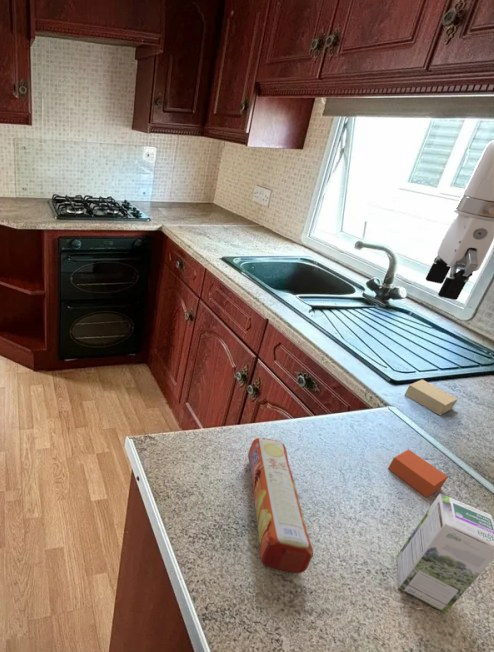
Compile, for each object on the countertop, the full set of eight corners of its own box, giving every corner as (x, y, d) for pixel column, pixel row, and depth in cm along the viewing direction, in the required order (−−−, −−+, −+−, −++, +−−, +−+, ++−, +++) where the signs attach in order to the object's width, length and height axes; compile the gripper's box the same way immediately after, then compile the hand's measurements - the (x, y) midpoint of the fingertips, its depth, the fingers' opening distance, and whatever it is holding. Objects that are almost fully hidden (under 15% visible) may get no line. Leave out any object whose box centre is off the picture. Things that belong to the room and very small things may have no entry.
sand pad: (452, 408, 96) (458, 398, 94) (439, 415, 93) (445, 405, 92) (417, 388, 102) (422, 379, 101) (404, 394, 99) (409, 384, 98)
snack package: (244, 456, 76) (253, 429, 73) (280, 464, 75) (291, 437, 72) (256, 569, 57) (268, 539, 54) (304, 582, 56) (320, 552, 53)
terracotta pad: (440, 488, 74) (448, 476, 72) (426, 497, 71) (434, 486, 70) (402, 460, 79) (408, 449, 78) (387, 468, 77) (394, 457, 75)
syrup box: (440, 578, 58) (492, 511, 52) (446, 616, 54) (503, 549, 47) (395, 555, 61) (439, 489, 54) (397, 590, 56) (445, 523, 50)
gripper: (526, 221, 69) (475, 309, 77) (487, 204, 84) (447, 280, 91) (474, 213, 71) (430, 299, 79) (445, 198, 86) (410, 272, 94)
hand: (439, 289), depth 85 cm, fingers open, 9 cm apart
